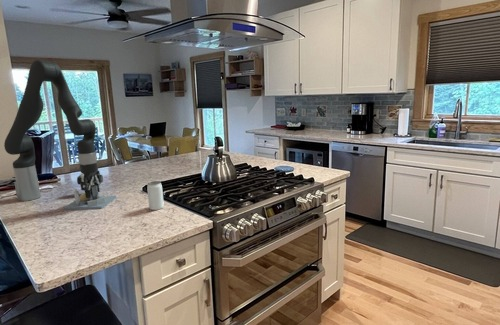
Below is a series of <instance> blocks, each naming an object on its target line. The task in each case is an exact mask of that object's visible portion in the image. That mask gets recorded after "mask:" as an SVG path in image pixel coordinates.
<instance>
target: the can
mask: <svg viewBox="0 0 500 325" xmlns="http://www.w3.org/2000/svg"><path fill="white" fill-rule="evenodd" d="M146 189H147V198H148V207H149V210H151V211H158V210H161V209H163V208H164V207H165V204H164V193H163V186H162V183H161V181H160V180H156V181H155V180H154V181H153V180H152V181H149V182H148V183H147V188H146Z"/></svg>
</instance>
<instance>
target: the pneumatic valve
mask: <svg viewBox="0 0 500 325" xmlns="http://www.w3.org/2000/svg"><path fill="white" fill-rule="evenodd" d="M82 177H84V174H83V173H81V174H79V176H77V177H76V181H77V182H76V183H77V184H78V185H79V186H81V184H80V178H82ZM100 178H101V182H100V184H99V186H100V185H101V183H103V182H104V177H103V174H100ZM98 180H99V179H98ZM92 185H94V184H93V183H92ZM83 188H84V185H83Z"/></svg>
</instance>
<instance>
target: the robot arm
mask: <svg viewBox="0 0 500 325" xmlns="http://www.w3.org/2000/svg"><path fill="white" fill-rule="evenodd" d="M44 82H48V83H49V82H50V83H52V84H53V85H54V86H55V88H56V89H57V101H58V105H59V107H60V109H61V110H62V112H63V113H64V115H65V117H66V120H67V124H68V127H69V130H70V132H71V133H72V134H73V135H74V136H76V137H77V136H78V137H81V136H83V138H82V139H81V140H79V141H77V144H76V146H77V153H78V163H79V170H80V173H81V174H84V177H82V178H80V184H81V185H80V190H81V191H84V193H85V196H86V198H90V197H91V193H90V186H91V185H92V183H93V184H94V185H97V188H98V193H99V192H101V190H100V185H101V184H100V182H101V178H100V175H101V172H100V170H99V166H98V160H97V155H96V154H97V153H96V149H95V139H96V138H95V137H96V132H97V131H96V130H97V129H96V128H97V127H96V124H95V123H94V121H93V120H92V119H89V118H84V119H79V118H80V117H81V116H82V115H83V110H82V109H81V107H80V105H79V104H78V102H77V101H76V99H75V98H74V95H73V94H72V91H71V90H70V88H69V86H68V83H67V80H66V79H65V75H64V73H63V71H62V68H61V67H60V66H59V65H58V63H56V62H53V61H49V60H43V59H42V60H41V59H36V60H34V61H33V62H32V63H31V64H30V67H29V71H28V76H27V82H26V86H25V89H24V91H23V95H22V98H21V101H20V103H19V107H18V109H17V113H16V116H15V118H14V120H13V124H11V125H12V126H11V128H10V129H9V132H8V134H7V135H6V138H5V140H4V144H3V146H4V150H5V152H6V153H7V154H9V155H13V156H14V155H18V158H16V160H14V161H12V168H13V172H14V178H15V181H14V183H13V184H14V187H15V188H14V189H15V193H16V197H17V201H20V202H27V201H28V202H29V201H33V200H37V199H40V198H41V191H40V184H39V178H38V174H37V173H38V172H37V168H36V153H35V152H36V151H35V144H34V141H33V139H32V138H31V136H30V135H27V132H28V131H29V130H30V129H31V128H32V127H34V126H35V124H36V123H37V122H38V121H39V120H40V118H41V116H42V113H43V111H44V107H45V106H44V101H43V99H42V95H41V89H42V85H43V83H44ZM98 179H99V180H98ZM99 184H100V185H99ZM83 185H84V187H83ZM87 186H88V187H87Z"/></svg>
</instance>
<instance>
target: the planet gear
mask: <svg viewBox="0 0 500 325" xmlns="http://www.w3.org/2000/svg"><path fill="white" fill-rule="evenodd" d="M87 187H88V186H87ZM90 193H91V197H90V198H88V200H85V204H88V203H87V201H92V200H96V199H99V196H100V195H99V192H98V188H97V185H91V186H90Z"/></svg>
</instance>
